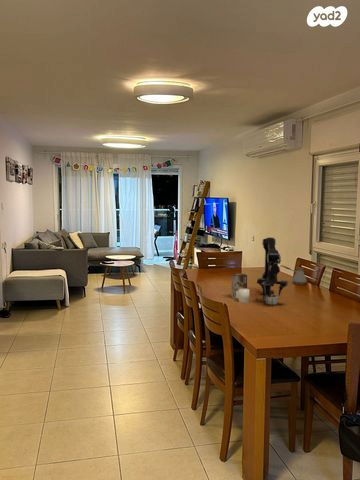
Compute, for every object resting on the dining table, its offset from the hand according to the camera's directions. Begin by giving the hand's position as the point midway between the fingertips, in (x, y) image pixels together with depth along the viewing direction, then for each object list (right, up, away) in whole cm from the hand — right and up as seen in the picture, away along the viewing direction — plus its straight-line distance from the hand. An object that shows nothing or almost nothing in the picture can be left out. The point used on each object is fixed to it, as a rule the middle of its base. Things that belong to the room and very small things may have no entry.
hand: (271, 295), depth 265 cm
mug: (-17, -5, +7) cm, 19 cm away
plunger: (0, -5, 0) cm, 5 cm away
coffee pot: (+31, 0, +65) cm, 72 cm away
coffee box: (-19, -4, +17) cm, 25 cm away
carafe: (-1, -6, +1) cm, 6 cm away
